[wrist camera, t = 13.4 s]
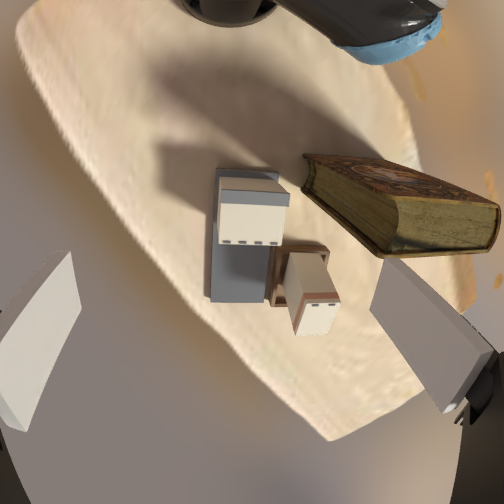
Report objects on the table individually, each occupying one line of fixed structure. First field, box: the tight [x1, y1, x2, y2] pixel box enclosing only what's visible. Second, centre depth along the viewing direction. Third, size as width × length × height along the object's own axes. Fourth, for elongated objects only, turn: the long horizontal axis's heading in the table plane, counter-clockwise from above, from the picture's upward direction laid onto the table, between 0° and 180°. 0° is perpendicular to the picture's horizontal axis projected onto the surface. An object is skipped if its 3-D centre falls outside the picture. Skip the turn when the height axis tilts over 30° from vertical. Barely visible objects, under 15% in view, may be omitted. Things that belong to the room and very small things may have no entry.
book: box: [301, 154, 501, 259], centre depth 35 cm, size 16×6×25 cm, turn 89°
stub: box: [282, 252, 341, 336], centre depth 47 cm, size 7×5×11 cm
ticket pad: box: [217, 177, 290, 246], centre depth 41 cm, size 7×8×9 cm
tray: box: [269, 245, 330, 307], centre depth 52 cm, size 11×9×2 cm
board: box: [210, 168, 279, 303], centre depth 48 cm, size 22×9×1 cm, turn 175°
